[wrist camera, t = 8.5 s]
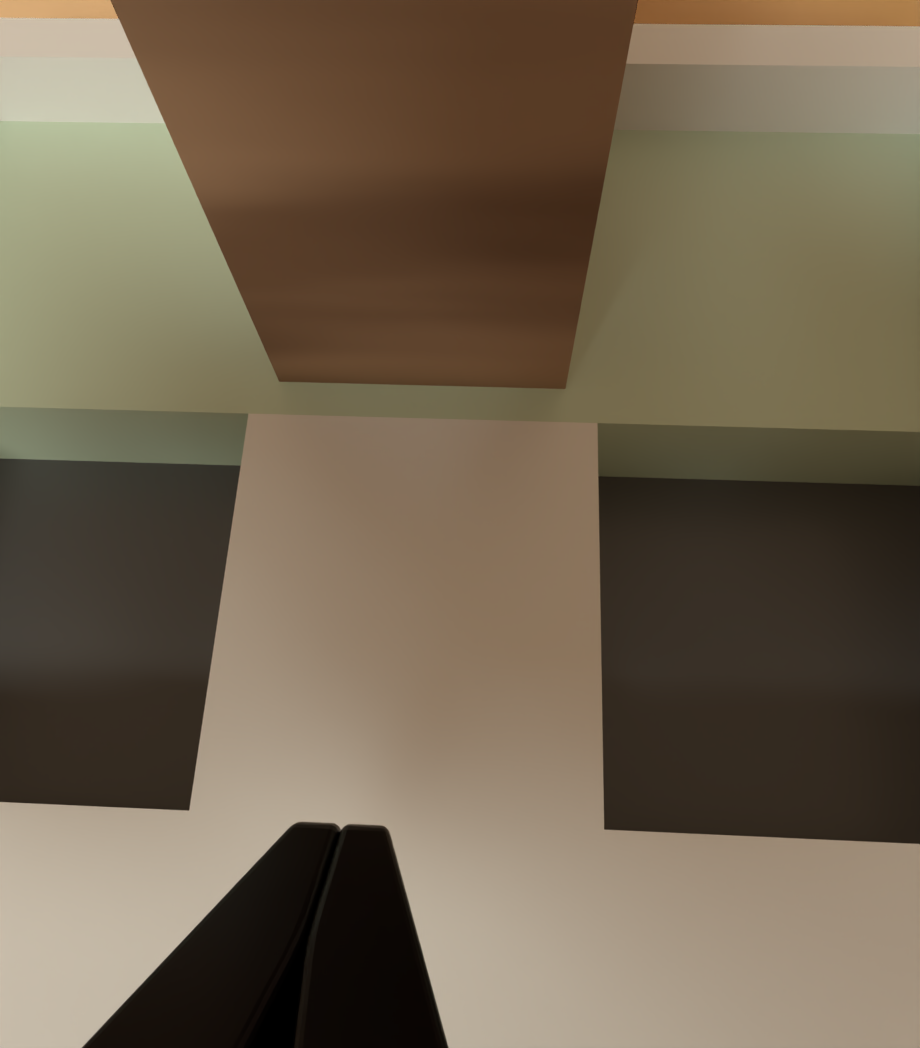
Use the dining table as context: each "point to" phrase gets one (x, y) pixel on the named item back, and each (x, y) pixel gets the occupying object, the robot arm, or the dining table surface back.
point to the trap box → (482, 573)
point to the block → (396, 173)
